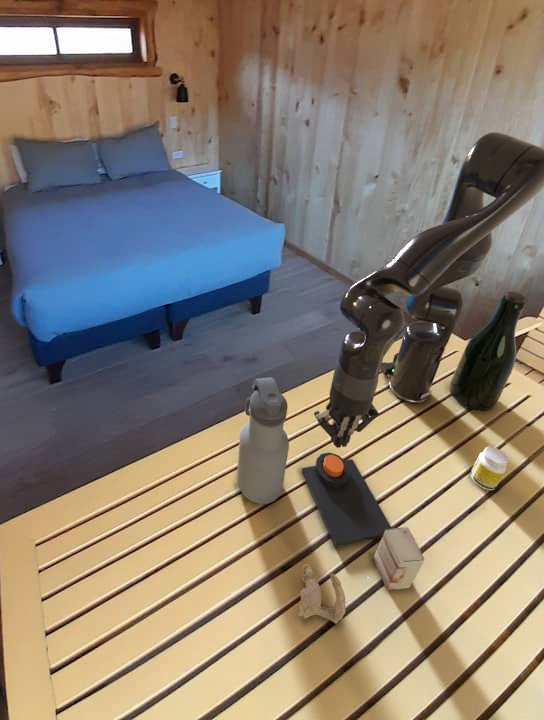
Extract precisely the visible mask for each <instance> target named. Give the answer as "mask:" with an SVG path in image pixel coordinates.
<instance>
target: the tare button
mask: <svg viewBox="0 0 544 720" xmlns="http://www.w3.org/2000/svg"><path fill="white" fill-rule="evenodd" d="M323 468H324V471H325V472H326V473H327V474H328V475H329V476H331V477H335V478H336V477H340V476H341V475H342V472H343V468H344V465H343V462H342V461H341V459H340V458H338V457H337V456H334V455H328V456H326V457H325V459H324V463H323Z"/></svg>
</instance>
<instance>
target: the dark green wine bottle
mask: <svg viewBox="0 0 544 720" xmlns="http://www.w3.org/2000/svg"><path fill="white" fill-rule="evenodd" d="M525 300H526V297H525V296H524V295H523V294H522V293H520V292H516V291H508V292H506V294H505V295H503V296H502V297H501V298H500V300H499V301H500V302H499V305H498V307H497V309H496V311H495V313H494V315H493V316H492V318H491V319H490V321H489V322H488V323H487V324H486V325H485V326H484V327H482V328H481V329H480V330H479V331H477V332H476V333H475V334H474V335H473V336H471V338H470V339H469V340H468V342H467V344H466V346H465V348H464V350H463V353H462V354H461V356H460V358H459V361H458V364H457V366H456V368H455V370H454V373H453V375H452V377H451V380H450V382H449V386H448V389H449V392H450V394H451V396H452V397H453V399H455V400H456V401H457V402H458V403H459V404H460V405H462V406H464V407H465V408H468V409H470V410H472V411H476V412H482V413H484V412H485V413H486V412H491V411H492V410H494V409H495V408H496V406H497V404H498V402H499V400H500V399H501V396H502V394H503V392H504V389H505V387H506V385H507V384H508V381H509V378H510V376H511V374H512V372H513V368H514V366H515V363H516V361H517V360H516V359H517V345H516V329H517V325H518V322H519V320H520V316H521V314H522V312H523V311H524V309H525V308H526V302H525Z"/></svg>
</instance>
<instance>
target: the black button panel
mask: <svg viewBox="0 0 544 720" xmlns="http://www.w3.org/2000/svg"><path fill="white" fill-rule="evenodd" d="M328 455H334V456H337V457H338V458H340V459H341V461H342V462H343V465H344V468H343V472H342V475H341V476H340V477H336V478H335V477H331V476H329V475H328V474H327V473H326V472H325V471H324V468H323V463H324V459H325V457H326V456H328ZM315 460H316V461H315V465H313V466H307V467H302V468H301V474H302V476H303V479H304V481H305V484H306V486H307V488H308V489H309V493H310V494H311V497H312V499H313V501H314V504H315V506H316V508H317V511H318V513H319V515H320V517H321V520H322V522H323V524H324V527H325V529H326V532H327V534H328V536H329V538H330V540H331V542H332V545H333V547H334V548H339V547H342V546H348V545H353V544H357V543H358V544H359V543H363V542H368V541H373V540H376V539H382V537H383V535H384V532H385V530H387V529H393V527H392V525H391V524H390V522H389V521H388V519H387V517H386V515H385V514H384V512H383V509H382V508H381V507H380V505H379V503H378V502H377V500H376V498H375V496H374V494H373V492H372V491H371V490H370V487H369V486H368V484H367V482H366V481H365V478H364V477H363V476H362V475H363V474H362V473H361V472H360V470H359V468H358V467H357V465H356V463H355V461H354V460H353V458H351V459H346V460H345V459H344V458H343V457H341V456H340V455H339V454H336V453H333V452H323V453H321V454H320V455H318V457H317V458H316V459H315Z"/></svg>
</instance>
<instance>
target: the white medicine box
mask: <svg viewBox="0 0 544 720" xmlns="http://www.w3.org/2000/svg"><path fill="white" fill-rule="evenodd" d="M373 561H374V563H375V565H376V568H377V570H378V573H379V575H380V578H381V580H382V582H383V584H384V586H385V589H386V590H388V591H390V590H391V591H392V590H403V589H410V587H412V584H413V582H414V581H415V579H416V577H417V575H418V573H419V571H420V570H421V568H422V566H423V565H424V563H425V561H426V560H425V556H424V554H423V553H422V550H421V549H420V547H419V544H418V542H417V541H416V539H415V537H414V536H413V533H412V532H411V530H410V529H409V527H407V526H405V527H395V528H393V527H392V529H387V530H385V532H384V535H383V537H382V538H380V541H379V544H378V546H377V549H376V551H375V554H374V556H373Z"/></svg>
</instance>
